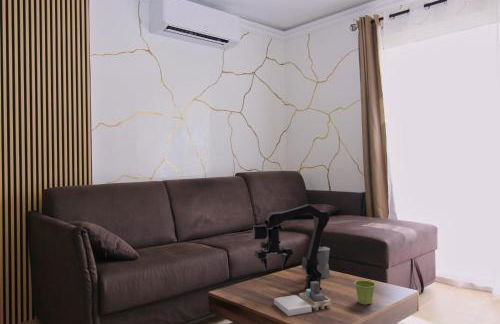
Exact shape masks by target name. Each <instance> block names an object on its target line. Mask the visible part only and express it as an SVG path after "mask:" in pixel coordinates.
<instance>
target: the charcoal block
mask: <svg viewBox="0 0 500 324" xmlns="http://www.w3.org/2000/svg"><path fill="white" fill-rule="evenodd" d="M325 296H326V295H325V294H323V293H321V292H320V293H319V294H313V301H314V302H319V301H325Z"/></svg>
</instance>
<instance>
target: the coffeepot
mask: <svg viewBox="0 0 500 324" xmlns="http://www.w3.org/2000/svg"><path fill="white" fill-rule="evenodd" d="M330 252H331V248H330V247H328V246H324V243H322V242H320V246H319V250H318V254H317V270H318V271H319V272H320V273H321V274H322V275H321V278H320V279H328V278H330V277H331V273H330V266H329V259H330Z"/></svg>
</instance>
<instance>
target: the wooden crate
mask: <svg viewBox="0 0 500 324" xmlns="http://www.w3.org/2000/svg"><path fill="white" fill-rule="evenodd" d="M320 287H321V285H320V286H319V282H317V281H313V282H310V292H311V298H308V297H307V296H306V291H305V292H301V293H300V292H299V295H298V297H299V298H301V299H302V300H304V301H305V302H307V303H308V304H309V305H311V306H312V310H314V311H319V309H320V310H325V308H326V309H331V305H332V304H333V303H332V299H331V298H329V297H328V296H326V295H325V301H319V302H314V301H313V294H319V293H321V292H320V291H321V289H320Z"/></svg>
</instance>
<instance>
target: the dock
mask: <svg viewBox="0 0 500 324" xmlns="http://www.w3.org/2000/svg"><path fill="white" fill-rule="evenodd" d="M273 304H274V305H275V306H276V308H279V310H281V311H282V312H283V313H284V314H285V315H286V316H288V317H291V316H297V315H301V314H302V315H303V314H307V313H312V312H313V311H312V310H313V308H312V306H311V305H309V304H308V303H307V302H305V301H304V300H302V299H301V298H299V295H297V294H294V295H287V296H280V297H274V298H273Z"/></svg>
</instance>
